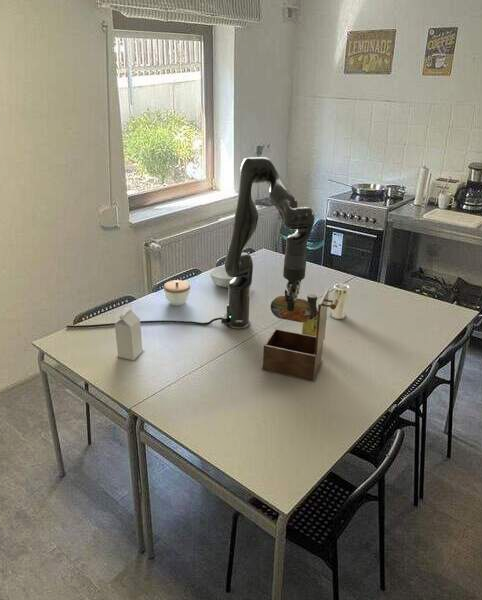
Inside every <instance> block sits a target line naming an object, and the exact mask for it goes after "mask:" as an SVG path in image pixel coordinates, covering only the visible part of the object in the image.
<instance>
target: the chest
mask: <svg viewBox="0 0 482 600" xmlns="http://www.w3.org/2000/svg"><path fill="white" fill-rule="evenodd" d="M272 330H273V331H272V332H271V334H270V335H269V336H268V339H267V340H266V341H265V343H264V344H263V353H262V355H263V356H262V370H263V371H267V372H272V373H276V374H280V375H284V376H289V377H293V378H297V379H302V380H307V381H311V382H314V380H315V378H316V375H317V374H318V373H317V372H318V371H319V368H320V366H321V363H322V359H323V358H322V356H323V349H324V342H323V343H322V345H321V347H320V349H319V352H318V354H317V356H316V355H315V344H316V336H311V335H306V334H302V332H301V333H300V332H297V331H290V330H285V329H280V328H274V329H272Z"/></svg>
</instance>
